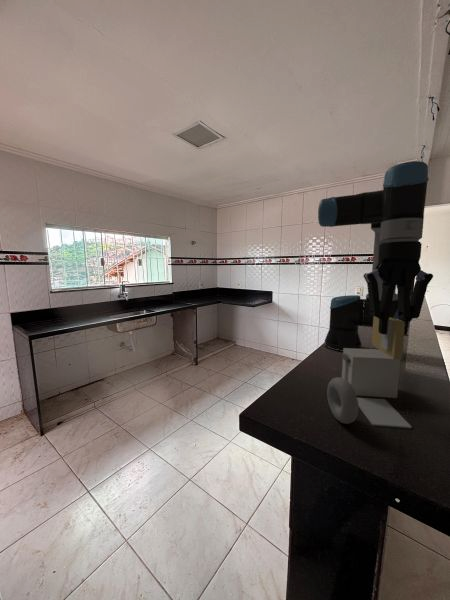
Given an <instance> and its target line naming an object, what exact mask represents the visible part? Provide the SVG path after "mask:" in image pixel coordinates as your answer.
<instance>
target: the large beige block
mask: <svg viewBox="0 0 450 600" xmlns="http://www.w3.org/2000/svg"><path fill="white" fill-rule="evenodd" d="M341 357H342V365H341V366H342V368H341V378H343V379H345V380H347V381H348V382H349V383H350V384H351V385H352V387H353V389H354V391H355V393H356V396H357V397H359V396H360V397H373V398H376V397H377V398H388V399H389V398H390V399H392V398H393V399H398V393H399V392H398V391H399V381H400V380H399V378H400V367H401V359H393V358H391V357H390V356H388V355H387V354H385V353H384V352H382V351H381V350H379V349H378V348H376V349H375V348H361V349H355V348H343V352H342V354H341Z"/></svg>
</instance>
